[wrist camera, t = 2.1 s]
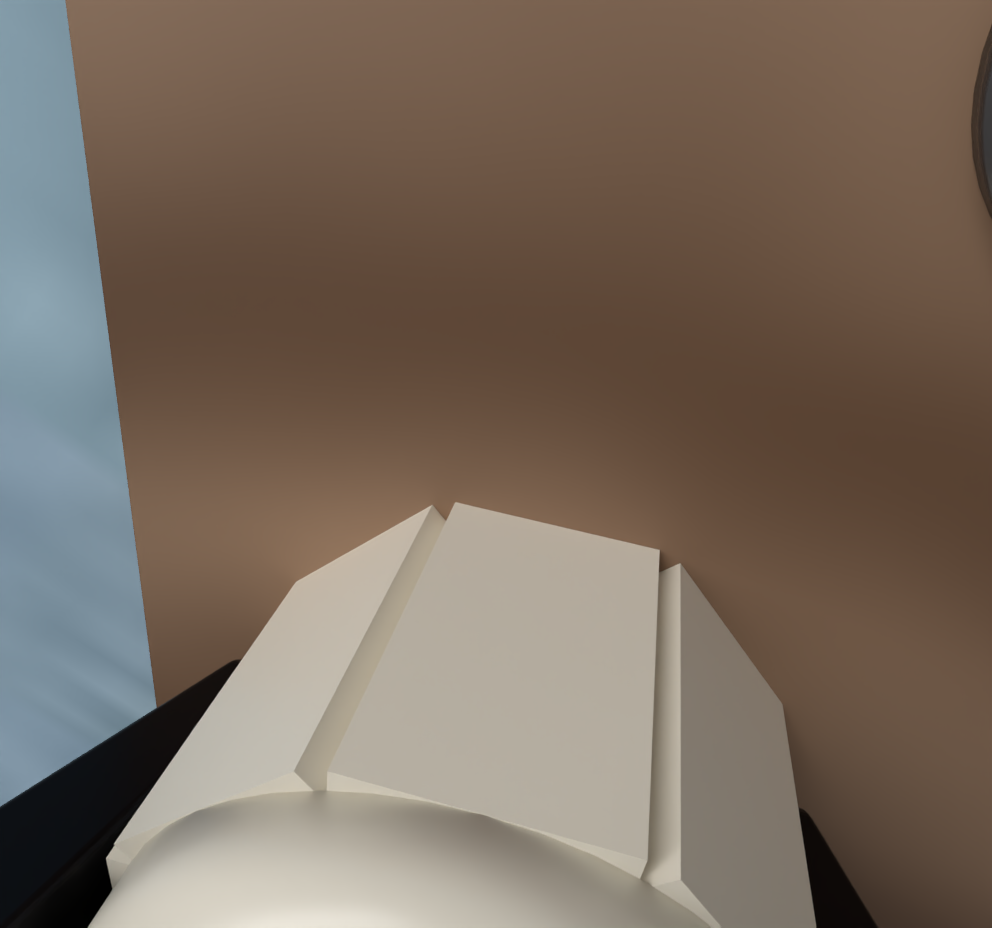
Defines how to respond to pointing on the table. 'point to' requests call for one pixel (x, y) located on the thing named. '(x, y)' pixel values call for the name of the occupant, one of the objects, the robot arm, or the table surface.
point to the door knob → (983, 124)
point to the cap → (478, 752)
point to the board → (580, 339)
